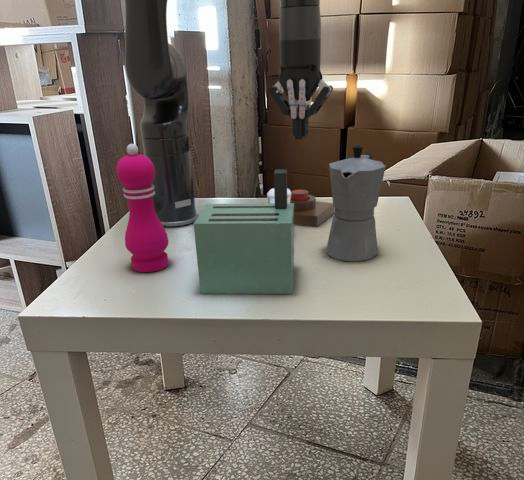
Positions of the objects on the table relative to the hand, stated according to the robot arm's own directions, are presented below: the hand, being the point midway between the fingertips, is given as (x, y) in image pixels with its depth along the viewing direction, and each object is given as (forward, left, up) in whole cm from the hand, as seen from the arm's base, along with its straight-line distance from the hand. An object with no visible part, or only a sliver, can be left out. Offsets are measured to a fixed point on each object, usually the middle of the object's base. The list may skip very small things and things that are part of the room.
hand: (300, 138), depth 103 cm
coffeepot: (+17, -15, -16) cm, 28 cm away
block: (0, 0, -16) cm, 16 cm away
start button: (0, 0, -12) cm, 12 cm away
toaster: (+6, -34, -16) cm, 38 cm away
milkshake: (+1, -12, -16) cm, 20 cm away
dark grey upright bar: (+10, -29, -5) cm, 31 cm away
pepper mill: (-13, -35, -16) cm, 41 cm away
